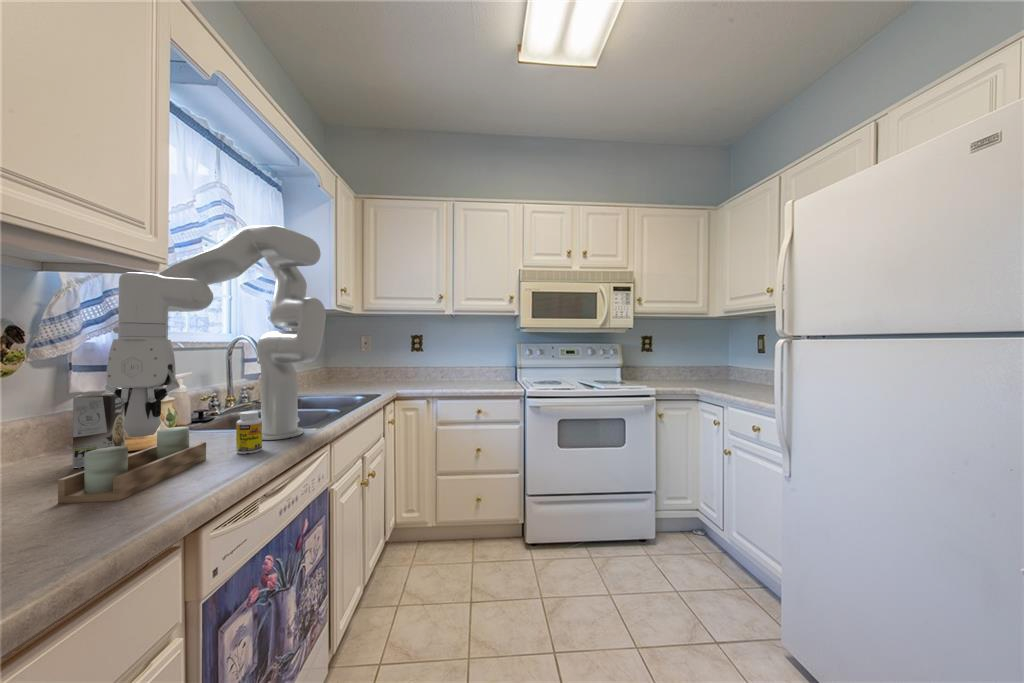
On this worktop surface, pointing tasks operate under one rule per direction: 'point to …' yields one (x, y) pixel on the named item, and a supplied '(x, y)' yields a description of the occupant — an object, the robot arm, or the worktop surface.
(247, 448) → the supplement bottle
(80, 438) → the coffee box
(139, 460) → the spice rail
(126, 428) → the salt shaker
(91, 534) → the worktop surface
